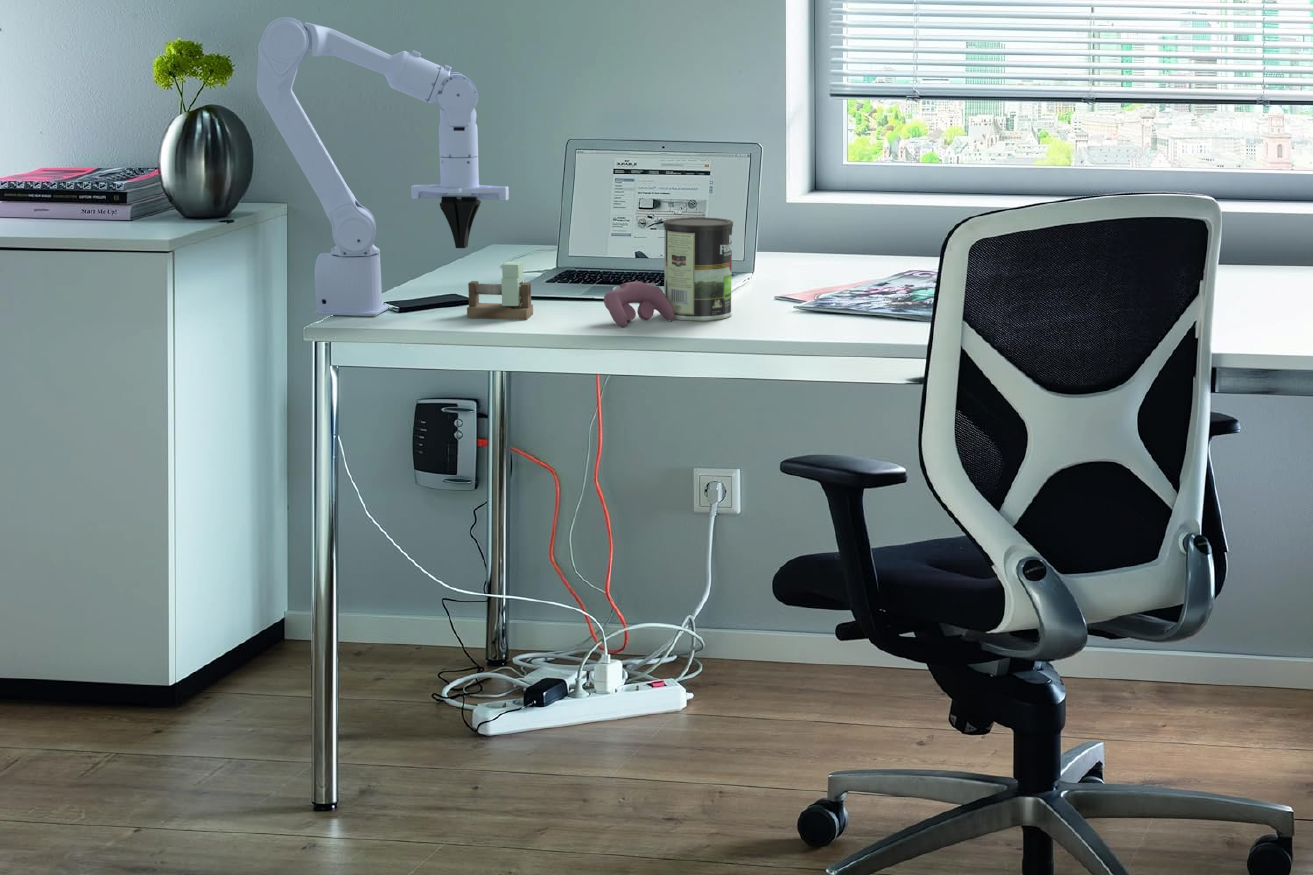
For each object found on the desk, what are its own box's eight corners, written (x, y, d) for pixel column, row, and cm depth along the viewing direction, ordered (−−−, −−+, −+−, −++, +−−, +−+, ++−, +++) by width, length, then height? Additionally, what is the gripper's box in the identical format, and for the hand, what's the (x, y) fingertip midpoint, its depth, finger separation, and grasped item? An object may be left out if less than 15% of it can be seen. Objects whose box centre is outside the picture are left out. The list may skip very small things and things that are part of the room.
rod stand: (467, 317, 230) (466, 284, 229) (474, 312, 234) (473, 279, 233) (526, 319, 229) (525, 286, 228) (533, 314, 233) (532, 281, 232)
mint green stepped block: (502, 305, 229) (501, 265, 227) (509, 300, 233) (508, 260, 232) (518, 306, 229) (517, 265, 227) (524, 300, 233) (523, 261, 231)
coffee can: (736, 310, 237) (738, 217, 233) (725, 322, 227) (727, 226, 223) (670, 307, 239) (670, 215, 235) (656, 320, 229) (657, 224, 225)
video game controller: (663, 327, 232) (652, 283, 232) (679, 318, 228) (667, 273, 229) (607, 335, 226) (595, 289, 227) (622, 325, 222) (610, 279, 223)
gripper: (403, 158, 229) (407, 250, 232) (499, 159, 227) (502, 252, 230) (417, 154, 235) (421, 243, 239) (511, 155, 233) (513, 245, 237)
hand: (461, 247), depth 235 cm, fingers closed
